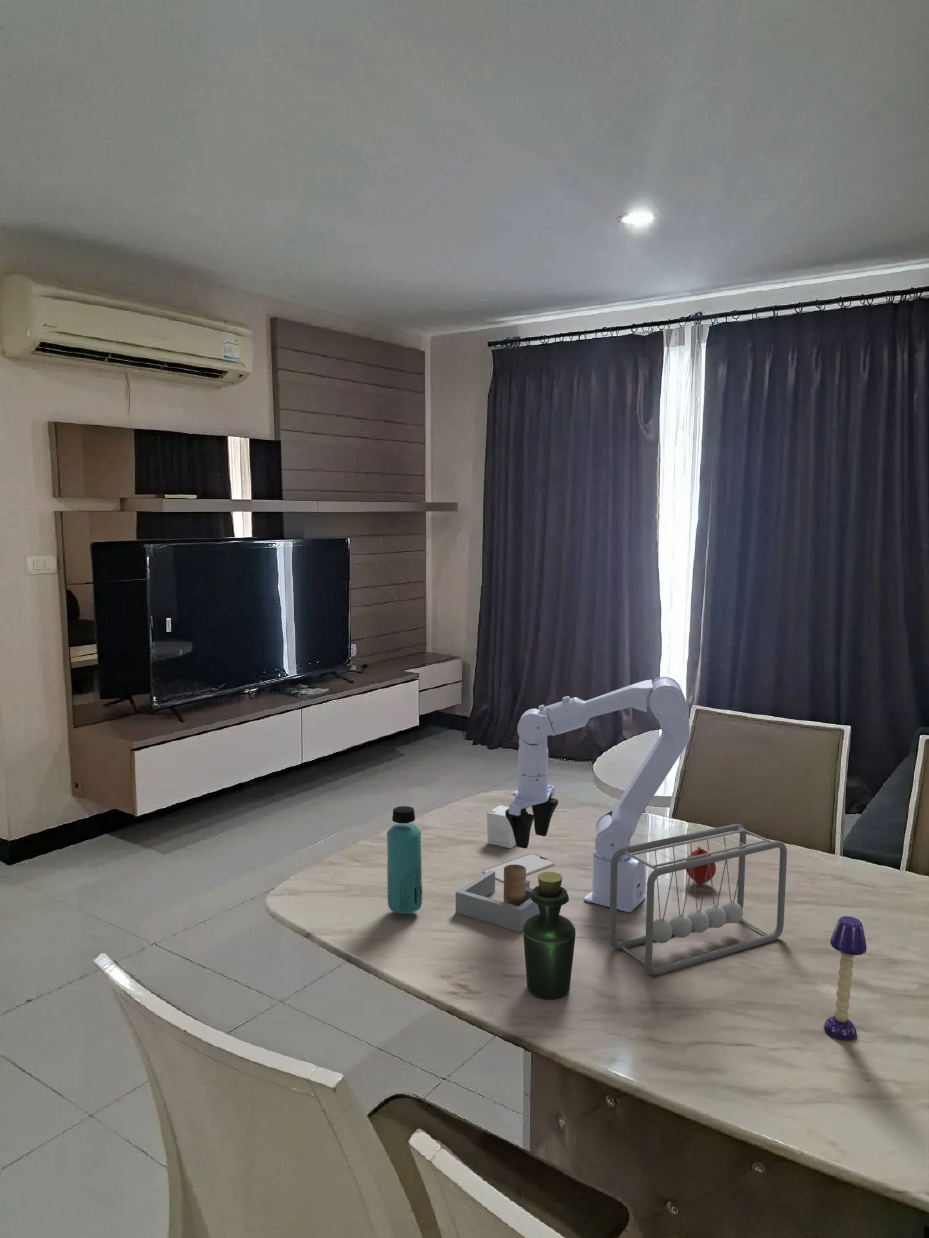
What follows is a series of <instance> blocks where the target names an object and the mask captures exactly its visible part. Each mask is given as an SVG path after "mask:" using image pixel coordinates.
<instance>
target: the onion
mask: <svg viewBox="0 0 929 1238" xmlns="http://www.w3.org/2000/svg"><path fill="white" fill-rule="evenodd" d="M697 846H698V847H697ZM697 846H696V847H697V849H695V850H692V856H697V855H702V854H706V853H708V850H707V851H705V850H706V849H705V850H703V849H704V847H703V846H702V845H697ZM699 847H700V848H699ZM701 848H703V849H701ZM690 855H691V853H690V854H689V855H688V856H687V858H688V857H691V856H690ZM708 856H709V855H708ZM708 856H704V857H708ZM700 858H703V857H700ZM695 859H699V858H695ZM695 859H693V860H695ZM691 860H692V859H691ZM686 861H690V860H686ZM686 861H685V862H686ZM710 864H711V874H712V879H713V878H714V876H715V875H716V872H717V865H716V862H714V863H710ZM710 864H709V869H708V864H705V865H701V866H697V867H693V868H694V878H695V884H697V885H699V886H701V885H705V879H706V874H707V869H708V874H707V879H706V883H708V882H710V881H711V874H710ZM693 868H692V869H691V868H688V869H685V871H686V873H687V875H688V876H689V875H690V869H691V875H690V879H691V880H693V881H694V878H693Z"/></svg>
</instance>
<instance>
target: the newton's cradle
mask: <svg viewBox="0 0 929 1238" xmlns="http://www.w3.org/2000/svg"><path fill="white" fill-rule="evenodd" d="M733 834H739V841H738V840H736V839H732V838H731V837H729V835H733ZM747 834H749V835H751V836H752V837H756V838H758V839H761V840H760V841H755V842H751V843H747ZM720 837H723V842H724V845H721V844H720V843H717V842H715V841H712V840H711V839H715V838H716V839H717V838H720ZM726 838H727V839H730V840H731V841H734V842H737V843H738V846H734V847H727V845H726ZM705 840H706V842H707V849H703V848H704V847H703V848H701V849H703V850H705V851H707V852H708V853H706V854H702V855H697V856H692V852H693V850H692V849H693V848H692V845H693V846H696V847H698V846H699V845H696V844H695V843H697V842H701V841H705ZM709 842H712V843H714V844H716V845H718V846H720V847H723V848H724V849H720V850H716V851H715V850H714V851H710V847H709ZM688 844H689V845H690V854H691V855H690V854H689V853H687V852H684V851H683V850H681V849H679V848H677V847H678V846H683V845H688ZM670 848H672V851H673V853H672V854H673V858H671V857H668V856H667V855H665V854H663V853H661V852H660V850H665V849H670ZM699 848H700V847H699ZM777 848H778V849H779V869H778V871H779V872H778V889H777V890H778V891H777V894H778V895H777V910H776V911H777V913H776V915H777V916H776V927H775V929H774V931H773V932H772V933H768V932H766V931H764V930H762V929H760V927H757V926H755V925H753V924H752V923H749V922H748V921H746V920H744V919H743V916H744V915H743V914H744V912H743V910H744V902H745V901H744V900H745V878H746V856H749V855H753V854H756V853H760V852H764V851H769V850H774V849H777ZM675 849H676V850H678V851H680V852H683V853H684V854H686V855H688V856H689V855H690V856H691V857H688V856H687V857H684V858H680V859H676V858H675ZM787 849H788V848H787V847H786V844H785V843H784V842H782V841H780V840H775V841H773V840H770V839H768V838H765V837H763V836H761V835H759V834H756V833H754V832H751V831H749V830H746V828H745V827H744V825H742V824H740V823H734V824H728V825H724V826H719V827H714V828H709V829H705V830H699V831H695V832H690V833H685V834H681V835H677V836H671V837H667V838H662V839H657V840H652V841H647V842H642V843H639V844H633V845H630V846H628V847H623V848H620V849H618V850H617V851H616V852H615V853H614V854H613V856H612V859H611V876H610V907H609V924H608V925H609V926H608V928H609V931H608V932H609V933H608V939H609V944H610V946H611V947H612V949H614V950H618V951H621V949H622V950H624V951H625V952H626V953H628V954H629V955H630V956H632V957H634V958H635V959H636V960H638V961H639V962H641V963H642V964H643V965H644V968H645V970H646V972H647V973H648V974H649V975H651V976H654V977H655V976H661V975H664V974H669V973H671V972H674V971H677V970H681V969H684V968H686V967H690V966H691V967H692V966H694V965H697V964H701V963H704V962H707V961H710V960H714V959H717V958H721V957H724V956H727V955H730V954H734V953H737V952H742V951H745V950H747V949H750V948H754V947H757V946H760V945H764V944H767V943H771V942H773V941H776V940H777V939H779V938H780V937H781V935H782V934H783V930H784V927H785V926H784V925H785V908H786V907H785V905H786V904H785V903H786V884H787V883H786V881H787V861H788V860H787V859H788V850H787ZM650 852H651V853H652V852H654V856H655V857H654V859H655V864H654V865H652V864H650V863H648V862H646V861H645V860H643V859H642V858H639V857H637V855H641V854H647V853H650ZM630 853H631V854H630ZM657 853H658V854H659V855H662V856H664V857H666V858H668V859H670V861H666V862H663V863H657ZM624 854H627V855H629V856H630V857H632V858H634V859H636V860H638V861H640V862H641V863H643V864H644V865H645V866H647V867H649V868H650V869H653V871H651V872H650V874H649V876H648V878H647V881H646V909H645V935H643V936H639V937H636V938H635V937H634V938H632V939H629V940H624V941H621V942H618V941H617V912H618V911H617V910H618V909H617V869H618V860H619V858H620V857H621V856H622V855H624ZM708 855H709V856H708ZM704 856H708V857H704ZM700 857H703V858H700ZM695 858H699V859H695ZM735 858H738V873H737V874H738V875H737V881H736V885H735V886H736V887H735V891H734V894H733V895H734V897H733V900H732V898H731V897H732V896H731V886H730V875H729V867H728V866H729V864H728V860H730V859H735ZM691 859H692V860H691ZM693 859H695V860H693ZM686 860H690V861H686ZM721 861H722V862H723V861H724V867H723V872H722V877H721V881H720V888H719V892H718V898H717V902H716V904H715V895H714V887H713V886H714V885H713V884H714V883H713V878H712V874H711V864H710V863H714V862H715V863H718V862H721ZM705 864H708V869H709V864H710V874H711V879H710V882H711V890H712V891H711V892H712V900H713V901H712V902H713V904H712V905H709V906H707V907H706V909H705V910H704V911H703V910H702V905H703V900H704V895H705V894H704V893H705V889H706V884H707V882H706V879H707V874H708V869H707V874H706V879H705V883H704V884H703V890H702V897H701V902H700V907H699V908H698V899H697V890H696V882H695V878H694V868H693V867H697V866H701V865H705ZM688 868H691V869H692V868H693V878H694V880H693V887H694V896H695V907H696V908H695V909H694V910H693V909H692V910H691V911H690V912H689V913H688V914H687V916H686V915H684V912H685V906H686V901H687V897H688V896H687V895H688V891H689V885H690V879H691V877H690V875H691V869H690V875H688V876H689V877H688V882H687V886H686V893H685V899H684V903H683V909H682V913H681V910H680V909H681V908H680V900H679V899H680V898H679V888H678V877H677V872H680V871H684V870H686V869H688ZM725 869H726V873H727V881H728V891H729V900H727V901H725V902H724V903H722V904H721V906H720V905H719V901H720V896H721V891H722V885H723V880H724V875H725ZM670 873H671V879H670V883H669V888H668V892H667V898H666V901H665V906H664V913H663V917H662V918H661V907H660V890H659V879H658V878H659V877H660V876H663V875H666V874H670ZM674 873H675V876H674V877H675V884H676V895H677V905H678V914H675V915H673V916H672V917H671V919H670V920H669V922H668V921H667V920H665V915H666V911H667V905H668V900H669V895H670V890H671V887H672V886H671V885H672V882H673V875H674ZM655 883H657V884H655ZM655 885H656V886H657V898H658V899H657V900H658V913H659V914H658V915H659V919H656V920H654V915H655V913H654V909H655ZM736 894H737V897H736ZM735 900H736V901H735ZM726 922H727V923H729V924H736V923H738V922H742V923H743V924H745V925H747V926H749V927H751V928H753V929H755V930H756V931H758V932H759V933H761V934H763V935H762V936H759V937H755V938H753V939H750V940H746V941H742V942H739V943H736V944H732V945H728V946H725V947H722V948H719V949H716V950H712V951H709V952H705V953H702V954H698V955H696V956H692V957H689V958H685V959H682V960H678V961H675V962H670V963H668V964H664V965H661V966H658V967H654V966H653V946H654V945H653V943H654V941H655V942H656V943H658V944H664V943H665V944H666V943H668V942H669V941H670V940H671V938H672V937H673V936H675V937H677V938H680V939H682V938H686V937H688V936H689V935H690V934H691V933H692V932H694V933H698V934H701V933H705V931H707V930H708V929H709V927H710V928H713V929H720V928H722V927H723V926H724V925H725V923H726ZM643 944H645V945H644V946H645V947H644V949H645V951H644V960H643V959H642V958H641V957H639V956H638V955H637V954H635V953H633V952H632V951H631V950H630V949H628V948H631V947H636V946H638V945H639V946H640V945H643Z"/></svg>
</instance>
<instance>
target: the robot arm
mask: <svg viewBox="0 0 929 1238" xmlns="http://www.w3.org/2000/svg"><path fill="white" fill-rule="evenodd" d="M648 707H649V709H650V710H651V713H653V716H654V717H655V718H656V719H657V720H658V722H659V727H660V729H661V733H660V735H659V737H657V738H658V739H656V742H655V743H654V745H653V746H652V748H651V750H650V751H649V752H648V754H647V756H646V758H644V761H643V762H642V764H641V765H640V767H639V768H638V770H637V772H636V773H635V775H634V776H633V778H632V780H631V781H630V783H629V785H628V786H627V788H625V791H624V792H623V793H622V795H621V797H620V798H619V800H617V801H616V802H615V803H614V804H613V805H612V807H611V808H610V810H608V811H607V812H606V813H604V814H602V815H601V816H600V817H599V818H598V819H597V821H596V827H595V828H596V838H595V841H594V843H595V844H594V845H595V847H594V848H593V849H592V886H591V887H592V889H591V890H592V891H591V892H589V893H587V895H585V897H583V900H584V901H585V902H589V903H592V904H597V905H598V906H599V905H600V906H604V907H606V908H610V876H611V859H612V856H613V854H614V853H615V852H616V851H617V850H618V849H620V848H623V847H628V846H631V838H632V837H633V835H634V834H635V831H636V828H637V826H638V823H639V821H640V819H641V817H642V815H643V813H644V812H645V811H646V808H648V806H649V804H650V802H652V800H653V798H654V797H655V795H656V793H657V792H658V791H659V788H660V787H661V786H662V784H663V782H664V781H665V780H666V778H667V776H668V775H669V774H670V771H671V770H672V768H673V767H674V766H675V763H676V762H677V761H678V760H679V758H680V756H681V755H682V753H683V751H684V750H685V748H686V747H687V745H688V744H689V742H690V740H691V734H690V733H691V731H690V707H689V705H688V702H687V700H686V697H685V695H684V691H683V690H682V688H681V686H680V684H679V682H678V681H676V680H675V678H672V677H669V676H659V677H657V678H655V679H654V680H652V679H646V680H643V681H642V680H641V681H639V682H636V683H633V684H629V685H627V686H623V687H621V688H618V689H615V690H612V691H610V692H607V693H604V694H602V695H598V696H596V697H593V698H590V699H588V700H583V699H581V698H578V697H576V696H575V697H572V698H571V697H570V696H569V695H566V696H563V697H562V700H561V701H558V702H555V703H552V704H549V705H545V704H541V705H538V709H537V708H530V709H528V710H526V711H524V713H523V714H522V715H521V717H520V719H519V721H518V724H517V730H516V731H517V735H518V737H519V739H518V745H519V748H518V749H517V751H518V752H517V756H518V757H517V789H516V790H515V791H513V792H512V796H513V797H514V798H513V800H512V802H510V803H508V807H509V809H507V810H506V811H505V816H506V817H507V819H508V821H509V822H510V825H511V827H512V830H513V834H514V838H515V842H516V845H515V846H516V847H517V848H521V849H525V850H526V849H528V847H529V843H530V835H531V828H532V825H533V826H534V827H533V828H534V833H535V835H537V836H541V837H547V834H548V831H549V827H550V823H551V819H552V817H553V814H554V812H555V811H556V809H557V806H558V805H559V799H557V798H553V797H554V796H555V785H554V786H553V785H550V784H548V781H549V779H548V778H549V776H548V774H549V749H548V736H553V737H555V736H557V735H561V734H563V733H567V732H570V731H573V730H577V729H580V728H584V727H586V726H587V723H588V722H589V719H591V718H594V717H598V716H601V715H605V714H608V713H609V714H610V713H613V712H616V711H620V710H624V709H628V708H632V709H635V710H638V711H641V712H644V713H647V712H648V710H647V708H648ZM528 808H531V809H532V813H529V812H528V811H527V809H528ZM630 854H631V853H630ZM645 866H646V865H645V864H643V863H641V862H640V861H638V860H636V859H634V858H632V857H630V856H629V855H627V854H624V855H622V856H621V857H620V858H619V860H618V869H617V910H619V911H622V912H626V913H631V912H632V911H633V910H634V909H636V908H637V906H639V905H640V904H641V903H642V902H643V901H644V900H646V899H647V895H646V894H645V885H646V884H645V881H646V879H645V878H646V877H645V875H646V868H645Z"/></svg>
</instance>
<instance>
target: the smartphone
mask: <svg viewBox="0 0 929 1238" xmlns="http://www.w3.org/2000/svg"><path fill="white" fill-rule="evenodd" d="M507 865H521V866H524V867H525V868H526V877H527V876H530V875H532V874H534V873H537V872H540V871H542V870H543V871H544V870H546V869H549V868H552V867H554V866H555V865H556V862H555V861H553V860H550V859H549V858H545V857H543V856H542V855H541V856H540V855H539V854H537V853H528V854H526V855H521V856H519V857H516V858H514V859H511V860H508V861H506V862H503V863H500V864H498V865H494V866H491V867H488V868H486V869H483V870H482V874H485V873H486V872H488V871H489V870H491V871H495V881H496V880H497V881H498V882H501V883H504V867H505V866H507Z"/></svg>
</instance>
